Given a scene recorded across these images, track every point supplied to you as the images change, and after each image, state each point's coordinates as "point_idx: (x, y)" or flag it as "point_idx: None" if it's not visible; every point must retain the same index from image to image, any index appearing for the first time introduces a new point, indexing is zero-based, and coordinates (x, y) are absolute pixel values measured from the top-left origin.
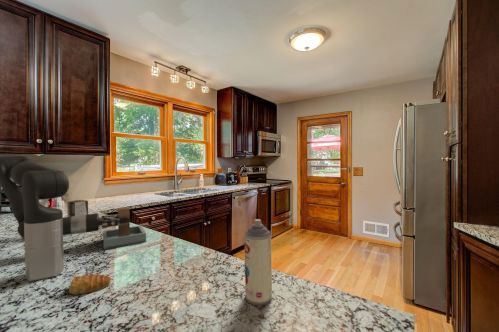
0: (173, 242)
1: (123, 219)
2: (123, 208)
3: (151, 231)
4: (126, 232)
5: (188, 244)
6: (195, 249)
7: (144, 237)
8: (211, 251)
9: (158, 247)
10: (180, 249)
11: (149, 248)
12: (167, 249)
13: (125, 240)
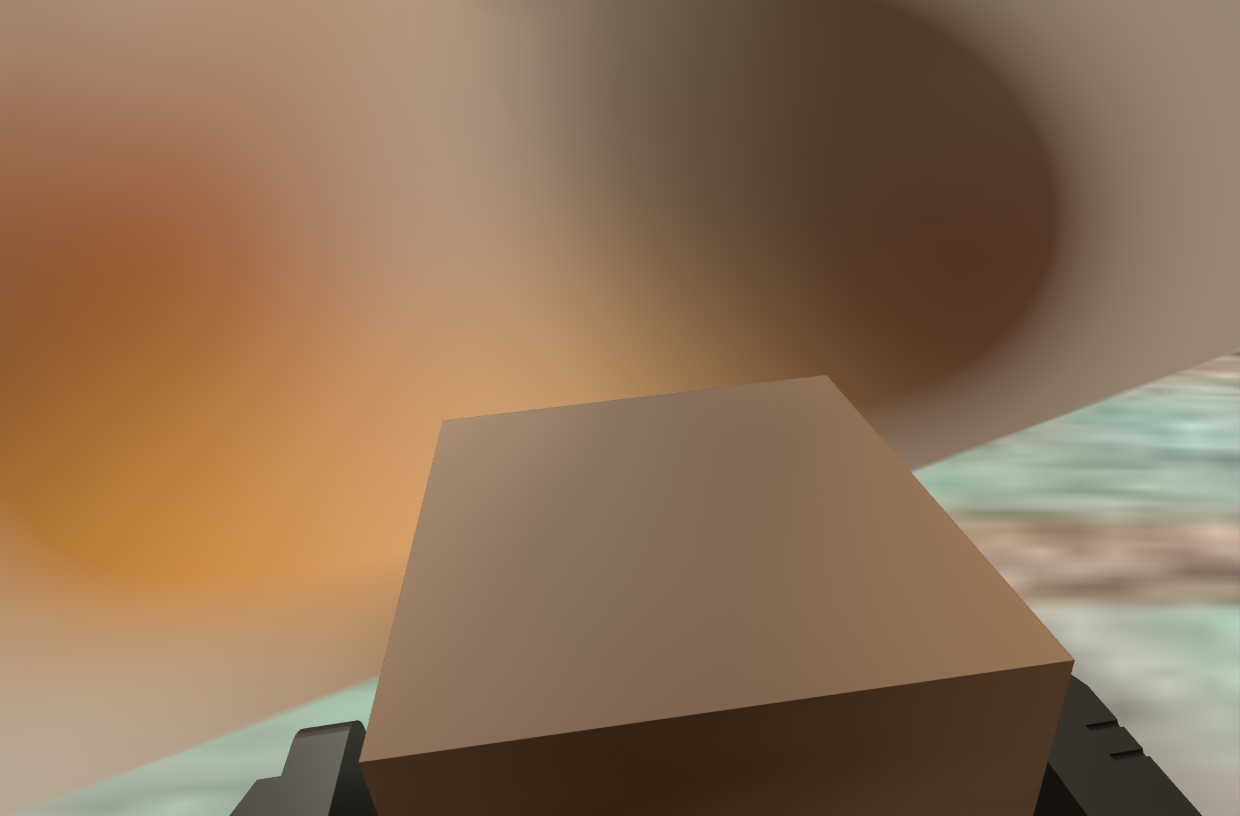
0: (982, 513)
1: (1152, 774)
2: (749, 501)
3: (370, 696)
4: None
5: (1057, 438)
6: (1194, 414)
7: None
8: (1227, 364)
9: (1169, 619)
10: (1212, 479)
11: (1227, 704)
12: (1231, 553)
13: None
